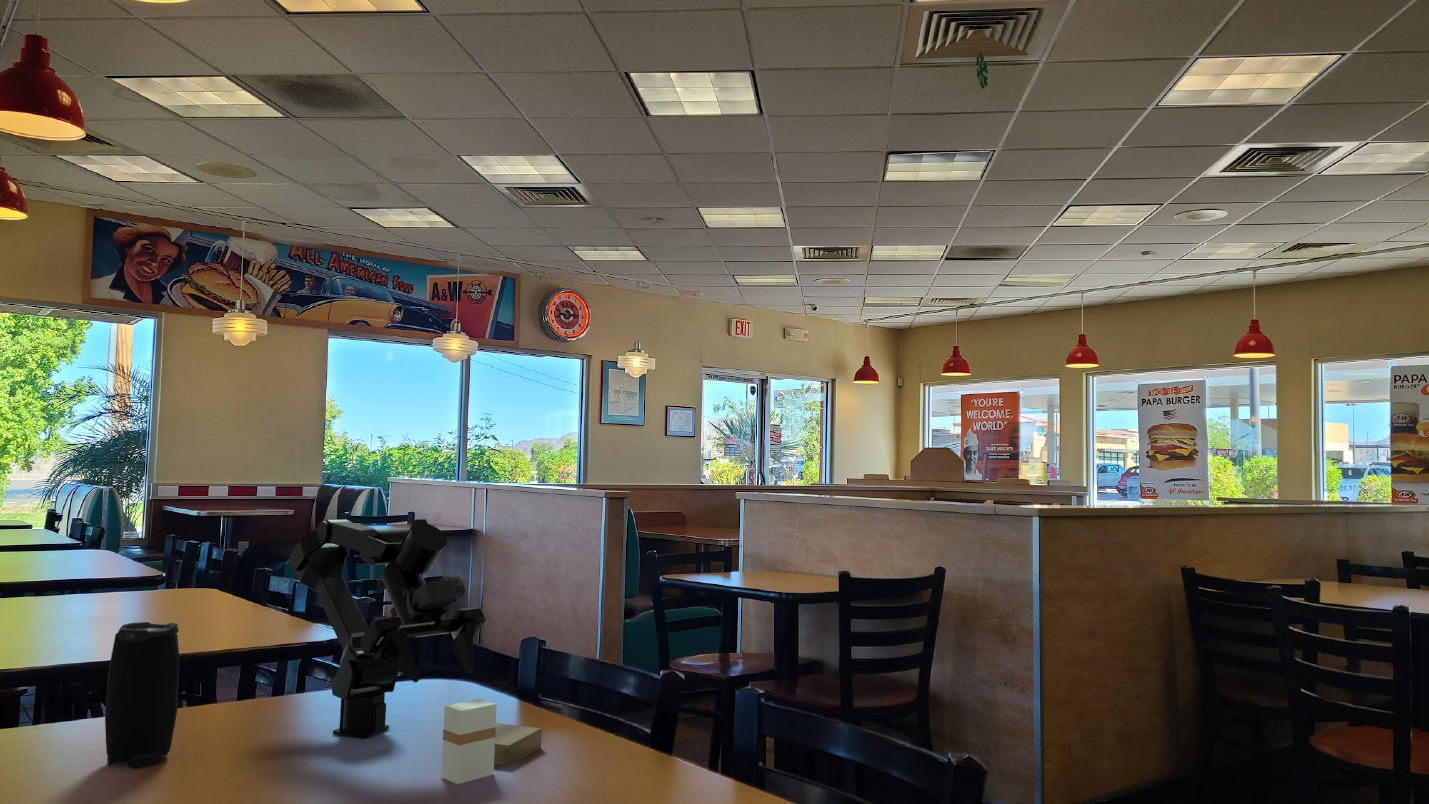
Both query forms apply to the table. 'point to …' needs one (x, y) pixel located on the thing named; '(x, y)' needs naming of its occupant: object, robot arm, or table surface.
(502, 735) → the base
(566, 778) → the table surface
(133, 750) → the portable speaker
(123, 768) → the table surface
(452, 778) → the carton
